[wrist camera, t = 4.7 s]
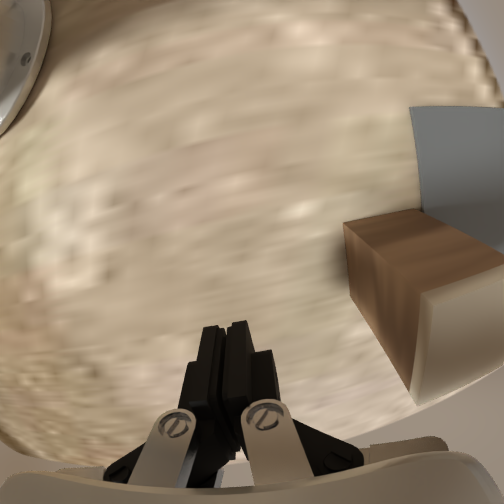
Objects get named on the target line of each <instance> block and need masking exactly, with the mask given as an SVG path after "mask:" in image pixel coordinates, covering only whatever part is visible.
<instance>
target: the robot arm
mask: <svg viewBox="0 0 504 504" xmlns="http://www.w3.org/2000/svg"><path fill="white" fill-rule="evenodd" d="M51 20H52V13H51V5H50V1H49V0H0V135H1V134H2V133H3V132H4V131H5V130H6V129H7V127H8V126H9V125H10V124H11V122H12V121H13V120H14V119H15V117H16V115H17V114H18V112H19V110H20V109H21V107H22V106H23V104H24V103H25V101H26V99H27V97H28V95H29V93H30V91H31V89H32V87H33V85H34V83H35V80H36V78H37V75H38V73H39V70H40V68H41V66H42V62H43V59H44V56H45V53H46V50H47V46H48V41H49V36H50V32H51ZM241 447H242V450H243V452H244V454H245V456H246V458H247V460H248V461H249V463H250V467H251V471H252V476H253V481H254V485H255V486H245V487H229V488H220V486H221V483H222V478H223V474H224V468H223V466H224V465H225V464H226V463H228V462H229V460H235V456H236V452H238V451H240V449H241ZM0 504H504V497H503V495H502V493H501V491H500V490H499V488H498V486H497V485H496V483H495V481H494V480H493V478H492V477H491V475H490V474H489V473H488V471H487V470H486V469H485V468H484V466H483V465H482V464H481V463H480V462H479V461H478V460H477V459H475V458H474V457H472V456H471V455H469V454H466V453H462V452H454V451H449V450H448V446H447V444H446V443H445V441H443V440H442V439H441V438H438V437H435V436H427V437H421V438H415V439H410V440H404V441H397V442H390V443H382V444H373V445H370V448H360V449H358V448H357V447H355V446H353V445H351V444H349V443H346V442H344V441H341V440H339V439H337V438H334V437H332V436H330V435H327V434H325V433H323V432H320V431H318V430H316V429H314V428H312V427H309V426H307V425H305V424H303V423H301V422H299V421H297V420H295V419H292V418H291V415H290V412H289V410H288V408H287V406H286V405H285V404H284V403H282V402H281V399H280V392H279V384H278V378H277V372H276V367H275V362H274V358H273V353H272V350H266V351H260V352H255V350H254V346H253V342H252V338H251V334H250V331H249V327H248V323H247V321H246V320H244V321H239V322H233V323H232V326H231V327H227V336H226V332H225V329H224V328H219V326H218V325H215V326H209V327H204V328H203V331H202V336H201V341H200V346H199V351H198V356H197V361H193V362H189V363H188V365H187V369H186V373H185V378H184V382H183V386H182V391H181V395H180V400H179V404H178V409H173V410H169V411H167V412H165V413H163V414H162V415H161V416H160V417H158V419H157V420H156V422H155V423H154V425H153V428H152V430H151V432H150V434H149V436H148V439H147V441H146V442H145V443H144V444H142V445H141V446H139V447H138V448H136V449H135V450H133V451H132V452H130V453H128V454H127V455H125V456H124V457H122V458H121V459H119V460H117V461H116V462H114V463H113V464H111V465H110V466H109V467H108V468H107V469H106V468H105V467H104V466H100V467H85V468H64V469H59V470H58V471H56V472H48V471H27V472H20V473H16V474H13V475H12V476H10V477H8V478H7V479H6V480H5V482H4V483H3V485H2V486H1V488H0Z"/></svg>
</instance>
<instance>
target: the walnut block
mask: <svg viewBox="0 0 504 504" xmlns="http://www.w3.org/2000/svg"><path fill="white" fill-rule="evenodd" d="M343 229H344V237H345V246H346V255H347V265H348V276H349V287H350V297H351V298H352V300H353V301H354V303H355V304H356V306H357V307H358V309H359V311H360V312H361V314H362V315H363V317H364V318H365V320H366V322H367V323H368V325H369V326H370V328H371V330H372V331H373V333H374V334H375V336H376V338H377V339H378V341H379V343H380V344H381V346H382V347H383V349H384V351H385V352H386V354H387V356H388V357H389V359H390V361H391V362H392V364H393V366H394V368H395V369H396V371H397V373H398V374H399V376H400V378H401V379H402V381H403V383H404V385H405V386H406V388H407V390H408V392H409V393H410V395H411V397H412V399H413V400H414V402H415V404H416V406H420V405H422V404H425V403H427V402H430V401H432V400H434V399H437V398H439V397H441V396H443V395H446V394H448V393H450V392H452V391H454V390H457V389H459V388H461V387H463V386H465V385H467V384H469V383H471V382H473V381H475V380H477V379H479V378H481V377H482V376H484V375H486V374H488V373H490V372H492V371H493V370H495V369H497V368H499V367H500V366H502V365H503V363H504V254H502V253H500V252H499V251H497V250H495V249H493V248H492V247H490V246H488V245H486V244H484V243H482V242H481V241H479V240H477V239H475V238H473V237H471V236H469V235H467V234H465V233H463V232H462V231H460V230H458V229H456V228H454V227H452V226H450V225H448V224H446V223H443V222H441V221H439V220H437V219H435V218H433V217H431V216H429V215H427V214H425V213H422V212H420V211H418V210H416V209H409V210H404V211H399V212H394V213H389V214H384V215H379V216H374V217H369V218H364V219H360V220H355V221H350V222H345V223H343Z"/></svg>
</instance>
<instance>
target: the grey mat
mask: <svg viewBox="0 0 504 504" xmlns="http://www.w3.org/2000/svg"><path fill="white" fill-rule="evenodd" d="M409 109H410V114H411V120H412V125H413V131H414V138H415V145H416V152H417V160H418V169H419V179H420V190H421V204H422V213H425V214H427V215H429V216H431V217H433V218H435V219H437V220H439V221H441V222H443V223H446V224H448V225H450V226H452V227H454V228H456V229H458V230H460V231H462V232H463V233H465V234H467V235H469V236H471V237H473V238H475V239H477V240H479V241H481V242H482V243H484V244H486V245H488V246H490V247H492V248H493V249H495V250H497V251H499V252H500V253H502V254H504V109H503V108H488V107H463V106H426V107H409Z"/></svg>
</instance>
